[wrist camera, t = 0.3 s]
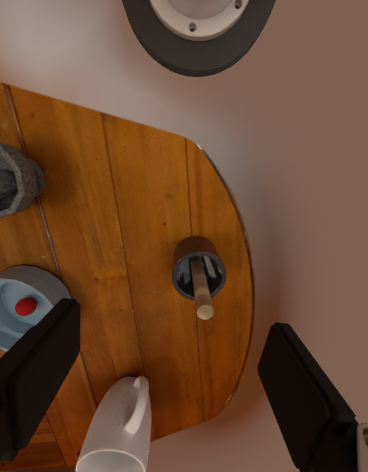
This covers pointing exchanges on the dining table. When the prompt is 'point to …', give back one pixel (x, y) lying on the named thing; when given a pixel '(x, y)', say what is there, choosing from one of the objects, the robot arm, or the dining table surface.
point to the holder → (184, 271)
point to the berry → (25, 306)
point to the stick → (201, 289)
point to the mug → (119, 430)
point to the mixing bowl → (26, 286)
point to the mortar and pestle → (18, 181)
